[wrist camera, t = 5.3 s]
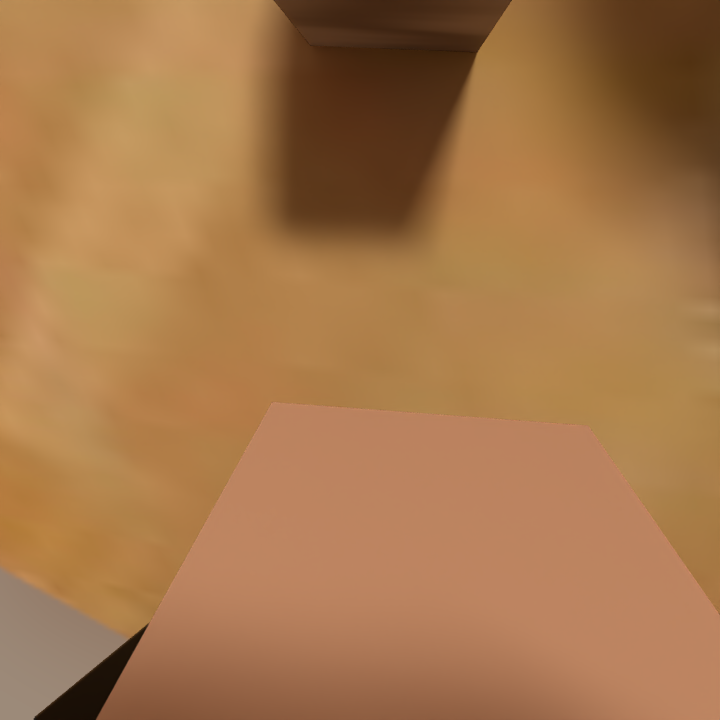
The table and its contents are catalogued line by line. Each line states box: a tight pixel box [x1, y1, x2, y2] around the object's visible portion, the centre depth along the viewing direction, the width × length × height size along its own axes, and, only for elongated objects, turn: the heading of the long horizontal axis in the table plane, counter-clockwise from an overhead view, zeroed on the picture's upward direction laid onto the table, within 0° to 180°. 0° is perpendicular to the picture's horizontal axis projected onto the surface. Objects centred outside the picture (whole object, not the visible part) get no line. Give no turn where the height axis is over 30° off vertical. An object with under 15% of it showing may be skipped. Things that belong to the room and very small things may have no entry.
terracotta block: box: [96, 402, 720, 720], centre depth 7 cm, size 5×5×6 cm
